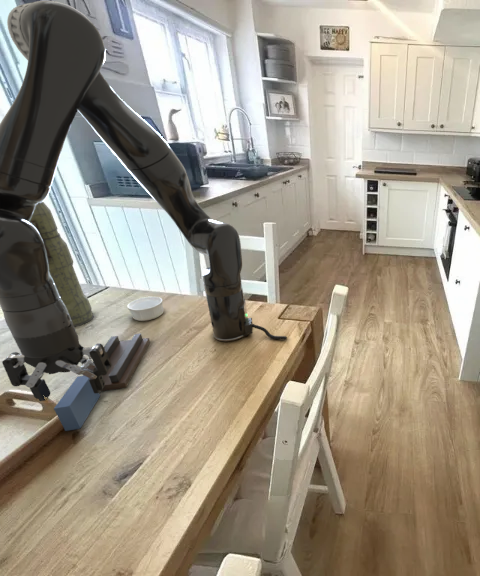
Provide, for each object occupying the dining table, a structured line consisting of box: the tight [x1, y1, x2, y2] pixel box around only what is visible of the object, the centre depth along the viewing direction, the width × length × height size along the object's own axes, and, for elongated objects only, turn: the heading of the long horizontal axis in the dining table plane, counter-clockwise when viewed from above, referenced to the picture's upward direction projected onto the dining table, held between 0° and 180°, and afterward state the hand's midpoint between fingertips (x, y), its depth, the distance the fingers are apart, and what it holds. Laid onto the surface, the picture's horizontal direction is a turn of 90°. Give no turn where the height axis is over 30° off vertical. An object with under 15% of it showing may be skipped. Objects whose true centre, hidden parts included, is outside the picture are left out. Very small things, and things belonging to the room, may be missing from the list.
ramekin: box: [126, 295, 164, 322], centre depth 100 cm, size 9×9×4 cm
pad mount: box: [82, 333, 151, 392], centre depth 79 cm, size 9×18×4 cm, turn 18°
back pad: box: [53, 375, 101, 432], centre depth 65 cm, size 2×9×6 cm, turn 18°
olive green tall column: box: [29, 201, 95, 328], centre depth 88 cm, size 9×12×35 cm
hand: (73, 394), depth 64 cm, fingers open, 8 cm apart
